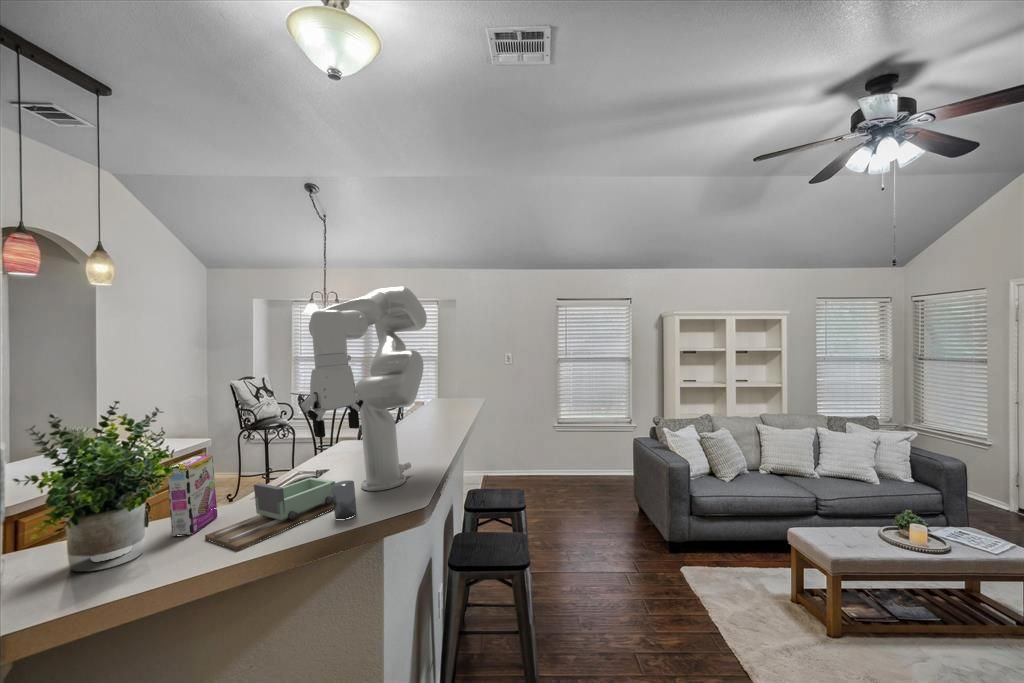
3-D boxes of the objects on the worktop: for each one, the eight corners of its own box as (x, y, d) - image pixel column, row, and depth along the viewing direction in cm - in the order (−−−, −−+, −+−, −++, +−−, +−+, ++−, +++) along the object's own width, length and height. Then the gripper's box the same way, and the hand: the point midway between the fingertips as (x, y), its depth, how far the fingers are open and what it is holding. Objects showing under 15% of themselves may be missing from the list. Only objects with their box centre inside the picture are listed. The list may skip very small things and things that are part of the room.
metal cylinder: (347, 511, 117) (345, 479, 117) (361, 514, 114) (358, 481, 114) (330, 518, 113) (327, 486, 113) (344, 522, 110) (341, 488, 110)
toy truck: (310, 494, 128) (307, 466, 128) (339, 500, 121) (336, 470, 121) (254, 515, 115) (251, 484, 115) (283, 523, 108) (280, 489, 108)
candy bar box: (194, 535, 109) (187, 466, 109) (171, 538, 109) (164, 468, 109) (219, 516, 121) (213, 453, 120) (199, 519, 120) (192, 455, 120)
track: (315, 497, 130) (313, 485, 130) (347, 503, 122) (346, 490, 122) (205, 539, 106) (203, 524, 106) (237, 551, 99) (236, 535, 99)
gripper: (351, 359, 122) (356, 424, 122) (288, 365, 107) (295, 440, 107) (370, 358, 118) (376, 425, 118) (308, 364, 103) (315, 441, 103)
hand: (337, 432), depth 113 cm, fingers open, 9 cm apart
